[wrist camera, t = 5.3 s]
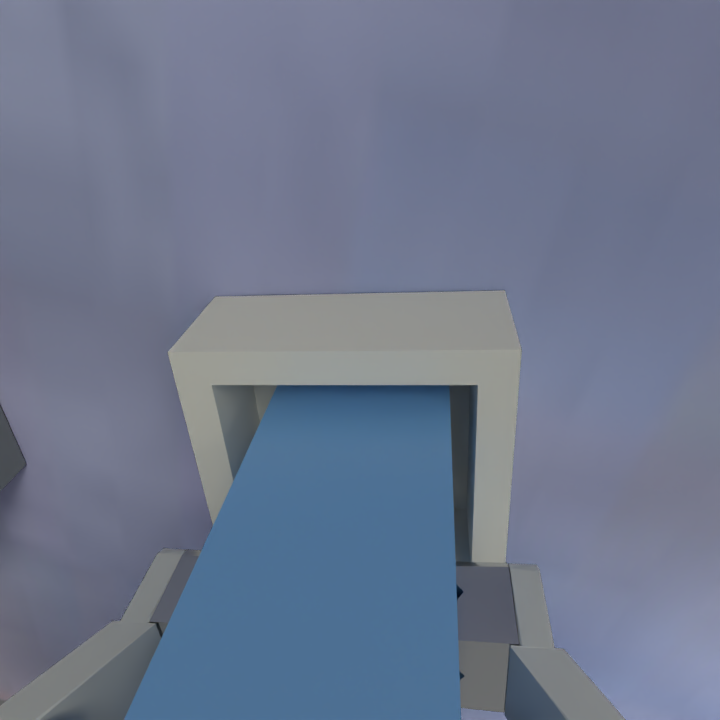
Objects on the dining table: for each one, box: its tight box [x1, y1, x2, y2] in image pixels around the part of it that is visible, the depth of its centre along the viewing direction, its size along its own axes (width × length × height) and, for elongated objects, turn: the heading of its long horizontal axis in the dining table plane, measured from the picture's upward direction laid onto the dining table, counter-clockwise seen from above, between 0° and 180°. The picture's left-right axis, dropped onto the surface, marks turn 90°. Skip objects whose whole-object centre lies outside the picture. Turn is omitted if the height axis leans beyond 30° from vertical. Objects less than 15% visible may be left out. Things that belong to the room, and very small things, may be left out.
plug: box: [124, 385, 461, 720], centre depth 10 cm, size 4×4×10 cm
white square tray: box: [168, 290, 522, 563], centre depth 15 cm, size 7×7×3 cm
